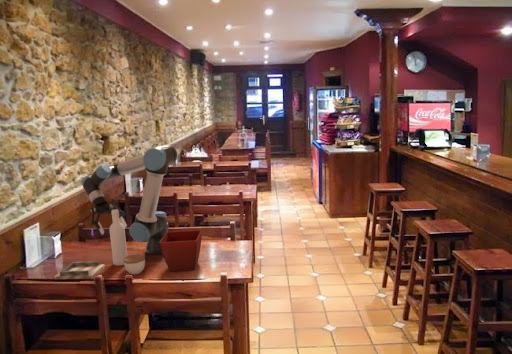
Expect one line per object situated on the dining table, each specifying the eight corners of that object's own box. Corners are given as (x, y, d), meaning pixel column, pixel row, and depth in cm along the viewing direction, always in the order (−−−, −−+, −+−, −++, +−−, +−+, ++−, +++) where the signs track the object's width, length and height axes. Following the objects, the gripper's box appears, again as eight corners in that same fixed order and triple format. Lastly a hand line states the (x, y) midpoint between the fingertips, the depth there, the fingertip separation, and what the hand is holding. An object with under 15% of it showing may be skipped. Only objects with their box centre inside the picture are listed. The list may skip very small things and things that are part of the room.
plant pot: (169, 261, 260) (166, 231, 257) (204, 259, 260) (202, 229, 257) (161, 274, 241) (158, 242, 239) (199, 272, 241) (196, 240, 238)
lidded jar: (127, 269, 252) (125, 252, 250) (147, 267, 252) (145, 250, 251) (123, 277, 241) (121, 259, 239) (144, 275, 242) (142, 257, 240)
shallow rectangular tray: (104, 266, 257) (104, 260, 257) (92, 278, 241) (91, 271, 241) (69, 267, 259) (68, 261, 258) (54, 279, 243) (53, 272, 243)
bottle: (131, 261, 264) (125, 208, 259) (122, 266, 257) (116, 212, 251) (118, 260, 266) (112, 208, 261) (110, 265, 259) (103, 211, 254)
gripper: (116, 199, 278) (132, 228, 270) (75, 208, 261) (91, 239, 253) (120, 191, 273) (136, 220, 265) (78, 200, 256) (94, 231, 248)
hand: (114, 230), depth 259 cm, fingers open, 13 cm apart
